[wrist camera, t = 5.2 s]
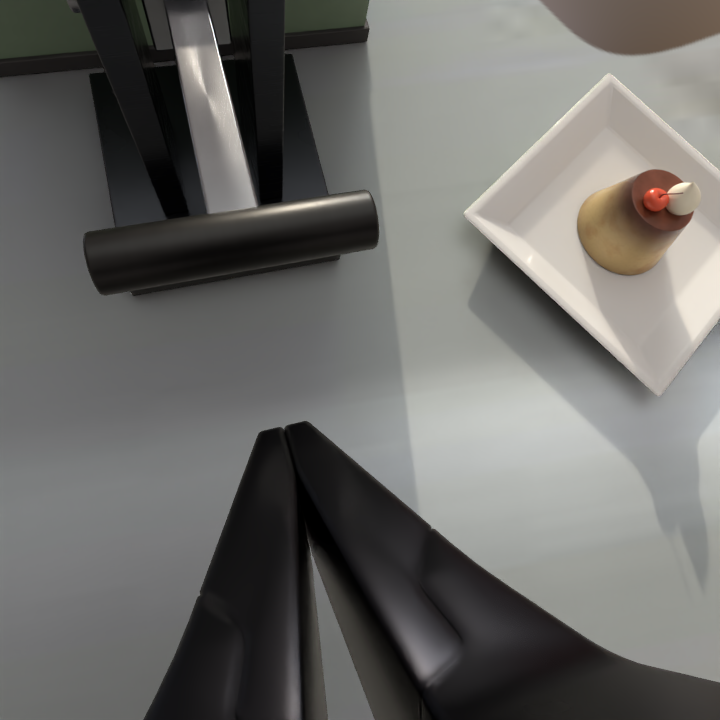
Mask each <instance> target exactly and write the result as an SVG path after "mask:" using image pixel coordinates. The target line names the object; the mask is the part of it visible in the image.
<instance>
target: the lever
mask: <svg viewBox="0 0 720 720" xmlns="http://www.w3.org/2000/svg"><path fill="white" fill-rule="evenodd" d="M141 1H142V5H143V9H144V12H145V16H146V20H147V23H148V27H149V31H150V35H151V38H152V42H153V46H154V48H155V50H156V51H165V50H173V51H174V56H175V61H176V66H177V70H178V75H179V80H180V85H181V90H182V95H183V100H184V105H185V110H186V114H187V119H188V124H189V129H190V134H191V139H192V144H193V149H194V154H195V158H196V163H197V168H198V173H199V178H200V183H201V188H202V193H203V198H204V202H205V207H206V212H207V214H201V215H194V216H188V217H181V218H175V219H168V220H161V221H155V222H148V223H142V224H135V225H128V226H122V227H115V228H109V229H102V230H96V231H89V232H87V233H85V234H84V239H83V248H84V255H85V260H86V264H87V267H88V271H89V273H90V276H91V279H92V281H93V283H94V285H95V287H96V289H97V290H98V291H99V293H100V294H102V295H111V294H117V293H123V292H128V291H134V290H140V289H146V288H151V287H157V286H163V285H168V284H174V283H180V282H186V281H191V280H197V279H203V278H209V277H214V276H220V275H226V274H232V273H237V272H243V271H249V270H255V269H260V268H266V267H272V266H277V265H283V264H289V263H295V262H300V261H306V260H312V259H318V258H323V257H329V256H335V255H341V254H346V253H352V252H358V251H363V250H369V249H374V248H375V247H376V246H377V244H378V239H379V223H378V215H377V210H376V206H375V203H374V200H373V198H372V196H371V194H370V192H369V191H367V190H359V191H352V192H346V193H339V194H333V195H326V196H319V197H313V198H306V199H300V200H293V201H287V202H280V203H273V204H267V205H260V206H258V202H257V198H256V194H255V190H254V186H253V182H252V178H251V174H250V169H249V165H248V161H247V157H246V153H245V149H244V145H243V141H242V137H241V133H240V129H239V125H238V121H237V117H236V113H235V109H234V105H233V101H232V97H231V93H230V89H229V85H228V81H227V77H226V73H225V69H224V65H223V61H222V57H221V53H220V49H219V45H229V44H231V43H232V35H231V27H230V19H229V11H228V3H227V0H141Z"/></svg>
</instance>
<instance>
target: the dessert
mask: <svg viewBox="0 0 720 720" xmlns="http://www.w3.org/2000/svg"><path fill="white" fill-rule="evenodd" d="M463 215H464V217H465V218H466V219H467V220H468V221H470V222H471V223H472V224H473V225H474V226H475V227H476V228H477V229H478V230H479V231H480V232H481V233H482V234H484V235H485V236H486V237H487V238H488V239H489V240H490V241H491V242H492V243H493V244H494V245H495V246H496V247H497V248H499V249H500V250H501V251H502V252H503V253H504V254H505V255H506V256H507V257H508V258H509V259H510V260H511V261H512V262H514V263H515V264H516V265H517V266H518V267H519V268H520V269H521V270H522V271H523V272H524V273H525V274H526V275H527V276H529V277H530V278H531V279H532V280H533V281H534V282H535V283H536V284H537V285H538V286H539V287H540V288H541V289H542V290H544V291H545V292H546V293H547V294H548V295H549V296H550V297H551V298H552V299H553V300H554V301H555V302H556V303H558V304H559V305H560V306H561V307H562V308H563V309H564V310H565V311H566V312H567V313H568V314H569V315H570V316H571V317H573V318H574V319H575V320H576V321H577V322H578V323H579V324H580V325H581V326H582V327H583V328H584V329H585V330H586V331H588V332H589V333H590V334H591V335H592V336H593V337H594V338H595V339H596V340H597V341H598V342H599V343H600V344H601V345H603V346H604V347H605V348H606V349H607V350H608V351H609V352H610V353H611V354H612V355H613V356H614V357H615V358H616V359H618V360H619V361H620V362H621V363H622V364H623V365H624V366H625V367H626V368H627V369H628V370H629V371H630V372H632V373H633V374H634V375H635V376H636V377H637V378H638V379H639V380H640V381H641V382H642V383H643V384H644V385H645V386H647V387H648V388H649V389H650V390H651V391H652V392H653V393H654V394H655V395H656V396H661V395H662V394H663V392H664V391H665V390H666V389H667V387H668V386H669V385H670V383H671V382H672V381H673V379H674V378H675V377H676V375H677V374H678V373H679V372H680V370H681V369H682V368H683V366H684V365H685V364H686V362H687V361H688V360H689V358H690V357H691V356H692V355H693V353H694V352H695V351H696V349H697V348H698V347H699V345H700V344H701V343H702V341H703V340H704V339H705V338H706V336H707V335H708V334H709V332H710V331H711V330H712V328H713V327H714V326H715V324H716V323H717V322H718V320H719V319H720V171H719V170H718V169H717V168H716V167H715V166H714V165H713V164H711V163H710V162H709V161H708V160H707V159H706V158H705V157H704V156H702V155H701V154H700V153H699V152H698V151H697V150H696V149H695V148H694V147H692V146H691V145H690V144H689V143H688V142H687V141H686V140H685V139H683V138H682V137H681V136H680V135H679V134H678V133H677V132H676V131H674V130H673V129H672V128H671V127H670V126H669V125H668V124H667V123H665V122H664V121H663V120H662V119H661V118H660V117H659V116H658V115H657V114H655V113H654V112H653V111H652V110H651V109H650V108H649V107H648V106H646V105H645V104H644V103H643V102H642V101H641V100H640V99H639V98H637V97H636V96H635V95H634V94H633V93H632V92H631V91H630V90H628V89H627V88H626V87H625V86H624V85H623V84H622V83H621V82H619V81H618V80H617V79H616V78H615V77H614V76H613V75H612V74H610V73H609V74H607V75H606V76H605V77H604V78H603V79H602V80H601V81H600V82H598V83H597V84H596V85H595V86H594V87H593V88H592V89H591V90H590V91H589V92H588V93H587V94H586V95H585V96H584V97H583V98H582V99H581V100H580V101H579V102H578V103H577V104H576V105H575V106H574V107H573V108H572V109H570V110H569V111H568V112H567V113H566V114H565V115H564V116H563V117H562V118H561V119H560V120H559V121H558V122H557V123H556V124H555V125H554V126H553V127H552V128H551V129H550V130H549V131H548V132H547V133H546V134H545V135H544V136H543V137H541V138H540V139H539V140H538V141H537V142H536V143H535V144H534V145H533V146H532V147H531V148H530V149H529V150H528V151H527V152H526V153H525V154H524V155H523V156H522V157H521V158H520V159H519V160H518V161H517V162H516V163H515V164H513V165H512V166H511V167H510V168H509V169H508V170H507V171H506V172H505V173H504V174H503V175H502V176H501V177H500V178H499V179H498V180H497V181H496V182H495V183H494V184H493V185H492V186H491V187H490V188H489V189H488V190H487V191H486V192H484V193H483V194H482V195H481V196H480V197H479V198H478V199H477V200H476V201H475V202H474V203H473V204H472V205H471V206H470V207H469V208H468V209H467V210H466V211H465V212H464V214H463Z"/></svg>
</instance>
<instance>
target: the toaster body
mask: <svg viewBox="0 0 720 720" xmlns="http://www.w3.org/2000/svg"><path fill="white" fill-rule="evenodd" d="M135 2H136V5H137V9H138V12H139V15H140V19H141V22H142V26H143V29H144V32H145V36H146V39H147V43H148V46H149V49H150V53H151V56H152V60H153V62H157V61H168V60H175V56H174V51H173V50H165V51H156V50H155V48H154V46H153V42H152V38H151V35H150V31H149V27H148V23H147V20H146V16H145V12H144V9H143V5H142V1H141V0H135ZM227 3H228V0H227ZM368 4H369V0H285V49H292V48H302V47H312V46H323V45H333V44H343V43H354V42H364V41H367V38H368V33H369V26H368V23H367V19H366V15H367V10H368ZM228 11H229V3H228ZM229 19H230V12H229ZM230 27H231V22H230ZM231 35H232V32H231ZM219 49H220V53H221V55H230V54H234V51H233V42H232V43H231V44H229V45H219ZM95 67H103V65H102V62H101V60H100V57H99V55H98V53H97V50H96V48H95V45H94V43H93V41H92V38H91V36H90V33H89V31H88V29H87V26H86V24H85V21H84V19H83V16H82V14H81V13H73V12H72V10H71V9H70V7H69V5H68V3H67V1H66V0H0V77H2V76H13V75H23V74H33V73H44V72H54V71H64V70H75V69H85V68H95Z"/></svg>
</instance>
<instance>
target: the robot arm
mask: <svg viewBox="0 0 720 720" xmlns="http://www.w3.org/2000/svg"><path fill="white" fill-rule="evenodd" d="M308 540H309V542H308ZM309 544H310V547H309ZM310 548H311V551H312V554H313V557H314V560H315V563H316V566H317V568H318V571H319V574H320V576H321V579H322V582H323V584H324V587H325V590H326V592H327V595H328V597H329V600H330V603H331V605H332V608H333V611H334V613H335V616H336V619H337V621H338V624H339V626H340V629H341V632H342V634H343V637H344V640H345V642H346V645H347V648H348V650H349V653H350V655H351V658H352V661H353V663H354V666H355V669H356V671H357V674H358V677H359V679H360V682H361V684H362V687H363V690H364V692H365V695H366V698H367V700H368V703H369V706H370V708H371V711H372V713H373V716H374V719H375V720H720V683H719V682H715V681H711V680H707V679H702V678H698V677H694V676H690V675H685V674H681V673H677V672H673V671H668V670H664V669H660V668H656V667H651V666H647V665H644V664H640V663H637V662H634V661H631V660H629V659H626V658H623V657H621V656H619V655H617V654H614V653H612V652H610V651H608V650H606V649H604V648H603V647H601V646H599V645H597V644H595V643H594V642H592V641H590V640H589V639H587V638H586V637H584V636H582V635H581V634H579V633H578V632H576V631H575V630H573V629H572V628H571V627H569V626H568V625H566V624H565V623H563V622H562V621H560V620H559V619H557V618H556V617H554V616H553V615H551V614H550V613H548V612H547V611H545V610H544V609H542V608H541V607H539V606H538V605H536V604H535V603H533V602H532V601H530V600H529V599H527V598H526V597H524V596H523V595H521V594H520V593H518V592H517V591H515V590H514V589H512V588H511V587H509V586H508V585H506V584H505V583H504V582H502V581H501V580H499V579H498V578H496V577H495V576H494V575H492V574H491V573H489V572H488V571H486V570H485V569H484V568H482V567H481V566H479V565H478V564H477V563H475V562H474V561H473V560H472V559H470V558H469V557H468V556H467V555H465V554H464V553H463V552H462V551H460V550H459V549H458V548H457V547H455V546H454V545H453V544H452V543H450V542H449V541H448V540H447V539H446V538H445V537H443V536H442V535H441V534H440V533H439V532H438V531H436V530H435V529H432V530H431V526H430V525H429V524H428V523H427V522H426V521H424V520H423V519H422V518H421V517H420V516H419V515H417V514H416V513H415V512H414V511H413V510H411V509H410V508H409V507H408V506H407V505H406V504H404V503H403V502H402V501H401V500H400V499H399V498H397V497H396V496H395V495H394V494H393V493H392V492H390V491H389V490H388V489H387V488H386V487H385V486H383V485H382V484H381V483H380V482H379V481H377V480H376V479H375V478H374V477H373V476H372V475H370V474H369V473H368V472H367V471H366V470H365V469H363V468H362V467H361V466H360V465H359V464H358V463H356V462H355V461H354V460H353V459H352V458H350V457H349V456H348V455H347V454H346V453H345V452H343V451H342V450H341V449H340V448H339V447H338V446H336V445H335V444H334V443H333V442H332V441H331V440H329V439H328V438H327V437H326V436H325V435H324V434H322V433H321V432H320V431H319V430H318V429H316V428H315V427H314V426H313V425H312V424H311V423H309V422H307V421H303V422H298V423H294V424H290V425H287V426H286V427H285V428H284V429H283V428H281V427H277V428H273V429H268V430H264V431H261V432H260V433H259V434H258V436H257V438H256V441H255V444H254V447H253V449H252V452H251V455H250V457H249V460H248V463H247V465H246V468H245V471H244V474H243V476H242V479H241V482H240V484H239V487H238V490H237V492H236V495H235V498H234V501H233V503H232V506H231V509H230V511H229V514H228V517H227V520H226V522H225V525H224V528H223V530H222V533H221V536H220V538H219V541H218V544H217V547H216V549H215V552H214V555H213V557H212V560H211V563H210V565H209V568H208V571H207V574H206V576H205V579H204V582H203V584H202V587H201V590H200V596H198V598H197V600H196V603H195V605H194V608H193V611H192V614H191V616H190V619H189V622H188V624H187V626H186V629H185V631H184V634H183V636H182V639H181V641H180V644H179V646H178V649H177V651H176V653H175V656H174V658H173V660H172V662H171V664H170V666H169V668H168V671H167V673H166V675H165V677H164V679H163V681H162V683H161V685H160V687H159V689H158V692H157V694H156V696H155V698H154V700H153V702H152V704H151V706H150V708H149V710H148V712H147V714H146V716H145V718H144V719H143V720H328V714H327V705H326V695H325V685H324V675H323V666H322V656H321V646H320V636H319V627H318V617H317V607H316V597H315V588H314V578H313V568H312V560H311V553H310Z"/></svg>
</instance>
